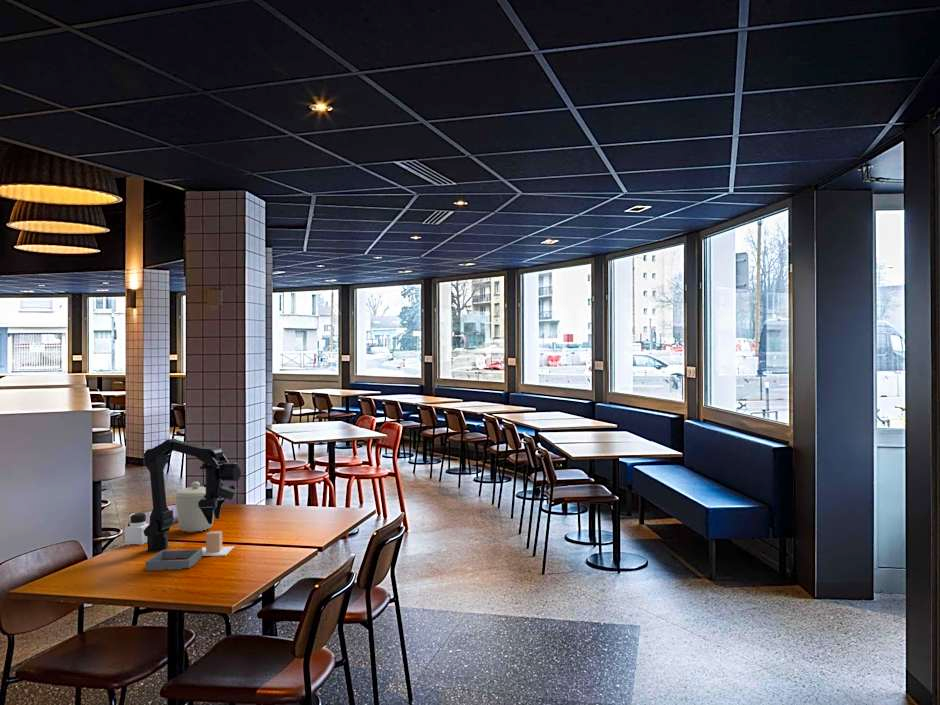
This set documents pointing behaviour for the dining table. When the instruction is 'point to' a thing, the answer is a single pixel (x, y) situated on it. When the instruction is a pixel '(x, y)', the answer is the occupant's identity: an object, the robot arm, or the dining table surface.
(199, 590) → the dining table surface
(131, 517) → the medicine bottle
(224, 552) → the white flat square slab
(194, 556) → the grey tray
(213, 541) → the block
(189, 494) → the canister
